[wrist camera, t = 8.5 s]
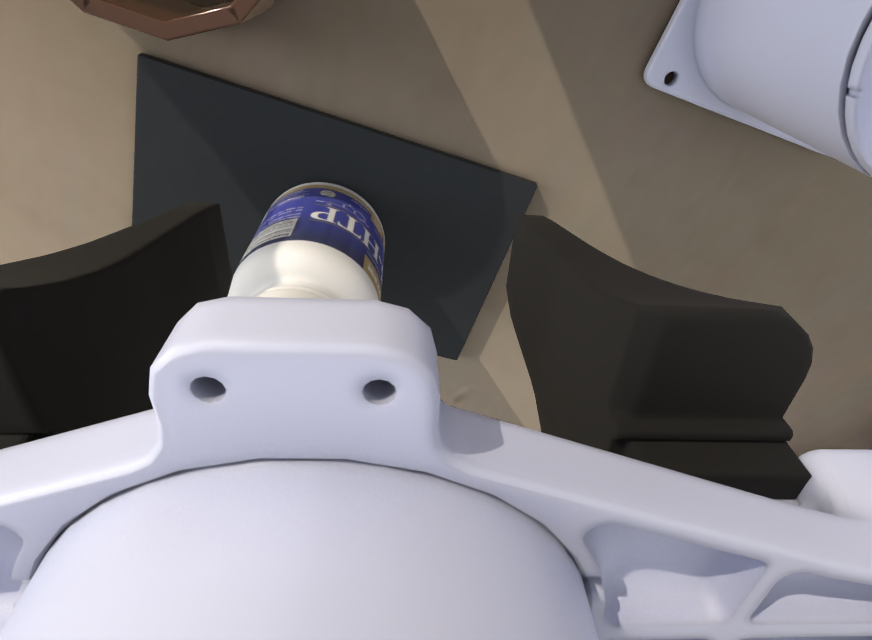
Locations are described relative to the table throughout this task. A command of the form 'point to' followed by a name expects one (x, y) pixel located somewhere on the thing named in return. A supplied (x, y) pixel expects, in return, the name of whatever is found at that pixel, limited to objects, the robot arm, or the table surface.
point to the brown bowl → (173, 15)
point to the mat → (331, 163)
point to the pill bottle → (314, 248)
